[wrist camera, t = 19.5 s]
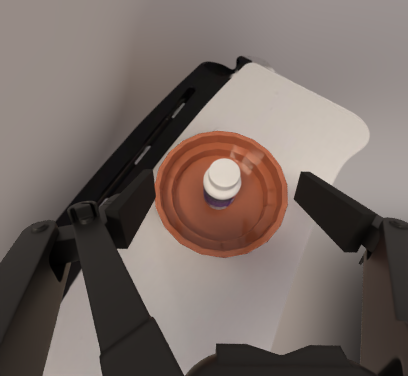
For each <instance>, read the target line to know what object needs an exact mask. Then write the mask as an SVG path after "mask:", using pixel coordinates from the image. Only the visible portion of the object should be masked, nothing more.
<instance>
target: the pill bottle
mask: <svg viewBox="0 0 408 376" xmlns="http://www.w3.org/2000/svg"><path fill="white" fill-rule="evenodd" d="M240 187H241V177H240V169H239V167H238V165H237V164H236V163H235V162H234V161H232V160H230V159H226V158H223V159H218V160H216V161H214V162H213V163H212V164H211V166H210V168H209V169H208V170H207V171H206V172H205V175H204V178H203V196H204V200H205V202H206V204H207V205H208V206H209V207H211V208H213V209H217V210H221V209H225V208H227V207H228V206H230V205H231V203H232V202H233V200H234V198H235V197H236V195H237V193H238V191H239V189H240Z"/></svg>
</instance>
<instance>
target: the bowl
mask: <svg viewBox="0 0 408 376" xmlns="http://www.w3.org/2000/svg"><path fill="white" fill-rule="evenodd" d="M223 158H226V159H230V160H232V161H234V162H235V163H236V164H237V165H238V167H239V169H240V177H241V187H240V189H239V191H238V193H237V195H236V197H235V198H234V200H233V202H232V203H231V205H230V206H228V207H227V208H225V209H221V210H217V209H213V208H211V207H209V206H208V205H207V204H206V202H205V200H204V196H203V178H204V175H205V172H206V171H207V170H208V169H209V168H210V166H211V164H212V163H213V162H214V161H216V160H218V159H223ZM155 192H156V198H155V205H156V209H157V211H158V213H159V216H160V218H161V220H162V222H163V225H164V226H165V228H166V229H167V230H168V231H169V232H170V233H171V234H172V235H173V236H174V238H175V239H176V240H177V241H178V242H179V243H180V244H182V245H184V246H186V247H188V248H190V249H192V250H194V251H196V252H197V253H199V254H203V255H209V256H216V257H222V258H226V257H231V256H237V255H242V254H247V253H249V252H251V251H253V250H254V249H256V248H258V247H259V246H261V245H263V244H264V243H266V242H268V240H269V239H270V238H271V237H272V235H273V234H274V233H275V232H276V230H277V229H278V228H279V227H280V226H281V223H282V220H283V217H284V214H285V211H286V208H287V205H288V197H287V183H286V180H285V177H284V175H283V172H282V169H281V167H280V165H279V164H278V162H277V161H276V160H275V158H274V157H273V156H272V154H271V153H270V152H269V151H268V150H267V149H265V148H264V147H263V146H261V145H260V144H259V143H257V142H256V141H255V140H253V139H250V138H248V137H245V136H243V135H240V134H238V133H233V132H224V131H213V132H207V133H200V134H197V135H195V136H193V137H191V138H188V139H186V140H184V141H182V142H181V143H180V144H179V145H177V146H176V147H175V148H174V149H173V150H171V151H170V152H169V153H168V155H167V156H166V158H165V160H164V161H163V163H162V164H161V166H160V167H159V170H158V174H157V178H156V182H155Z"/></svg>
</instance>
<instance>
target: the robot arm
mask: <svg viewBox="0 0 408 376" xmlns="http://www.w3.org/2000/svg"><path fill="white" fill-rule="evenodd" d="M155 198H156V192H155V184H154V176H153V170H146V169H144V170H143V171H142V172H141V173H140V174H139V175H138V176H137V177H136V178H135V179H134V180H133V181H132V182H131V183H130V184H129V185H128V186H127V187H126V188H125V189H124V191H123V192H122V193H121V194H116V195H114V196H112V197H110V198H109V199H108V200H107V201H106V202H105V203H104V204H103V205H102V206H100V207H99V208H98V207H97V203H96V202H94V201H84V202H79V203H76V204H74V205H72V206H70V207H69V208H68V209H67V213H68V216H69V218H70V221H71V223H72V225H69V226H63V227H57V224H56V222H55V221H51V220H47V221H42V222H37V223H35V224H32V225H31V226H29V227H27V228H26V229H25V230H23V231H22V233H21V234H20V236H19V237H18V239H17V240H16V241H15V243H14V244H13V246H12V247H11V249H10V250H9V251H8V253H7V254H6V256H5V257H4V258H3V260H2V262H1V263H0V376H42V375H43V371H44V367H45V363H46V360H47V356H48V352H49V348H50V344H51V340H52V336H53V332H54V328H55V324H56V320H57V316H58V312H59V308H60V304H61V300H62V296H63V292H64V288H65V285H66V281H67V277H68V273H69V269H70V265H71V262H75V261H79V260H80V262H81V267H82V271H83V276H84V280H85V285H86V289H87V294H88V298H89V302H90V307H91V311H92V316H93V320H94V325H95V329H96V333H97V338H98V342H99V347H100V353H101V354H100V356H99V357H100V365H101V371H102V376H184V374H183V373H182V371H181V369H180V367H179V365H178V363H177V361H176V359H175V357H174V355H173V353H172V351H171V349H170V347H169V345H168V343H167V341H166V339H165V337H164V336H163V334H162V332H161V330H160V328H159V326H158V324H157V322H156V320H155V319H154V318H153V317H151V316H150V315H149V313H148V311H147V309H146V307H145V305H144V303H143V301H142V299H141V297H140V295H139V293H138V291H137V289H136V287H135V285H134V283H133V281H132V279H131V277H130V275H129V273H128V271H127V269H126V267H125V265H124V263H123V261H122V259H121V257H120V255H119V253H118V251H117V249H128V247H129V245H130V243H131V242H132V240H133V238H134V236H135V234H136V233H137V231H138V229H139V227H140V225H141V223H142V222H143V220H144V218H145V216H146V214H147V213H148V211H149V209H150V207H151V205H152V203H153V202H154V200H155ZM294 200H295V201H296V202H297V203H298V204H299V205H300V206H301V207H302V208H303V209H304V210H305V211H306V212H307V214H308V215H309V216H310V217H311V218H312V219H313V220H314V221H315V222H316V223H317V224H318V225H319V226H320V227H321V228H322V229H323V230H324V231H325V232H326V234H327V235H328V236H329V237H330V238H331V239H332V240H333V241H334V242H335V243H336V244H337V245H338V246H339V247H340V248H341V249H342V250H343V251H344V252H357V251H358V249H359V248H360V246H361V244H362V245H363V246H364V247H365V248H366V251H365V253H364V255H363V256H362V258H361V260H360V262H359V264H362V263H363V294H362V296H363V297H362V298H363V299H362V331H361V359H360V364H358V363H356V362H354V361H352V360H349V359H347V358H346V355H345V354H344V352H343V350H342V349H341V347H340V346H321V345H317V346H316V345H309V346H306V347H304V348H301V349H298V350H296V351H293V352H290V353H288V354H285V355H278V354H275V353H271V352H269V351H266V350H263V349H260V348H257V347H254V346H251V345H248V344H216V353H215V354H213V355H211V356H208V357H206V358H204V359H203V360H201V361H200V362H198V363H197V364H196V365H195V366H194V367H193V368H192V369H191V370H190V371H189V372H188V373H187V374H186V375H185V376H408V223H407V222H405V221H402V220H399V219H395V218H383V217H381V216H379V215H378V214H376V213H375V212H373V211H371V210H370V209H368V208H367V207H365V206H363V205H361V204H360V203H359V202H357V201H356V200H354V199H352V198H350V197H349V196H347V195H346V194H344V193H343V192H341V191H339V190H338V189H336V188H335V187H333V186H331V185H330V184H328V183H327V182H325V181H324V180H322V179H320V178H319V177H317V176H316V175H314V174H312V173H311V172H301V174H300V177H299V181H298V185H297V189H296V192H295V196H294Z"/></svg>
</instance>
